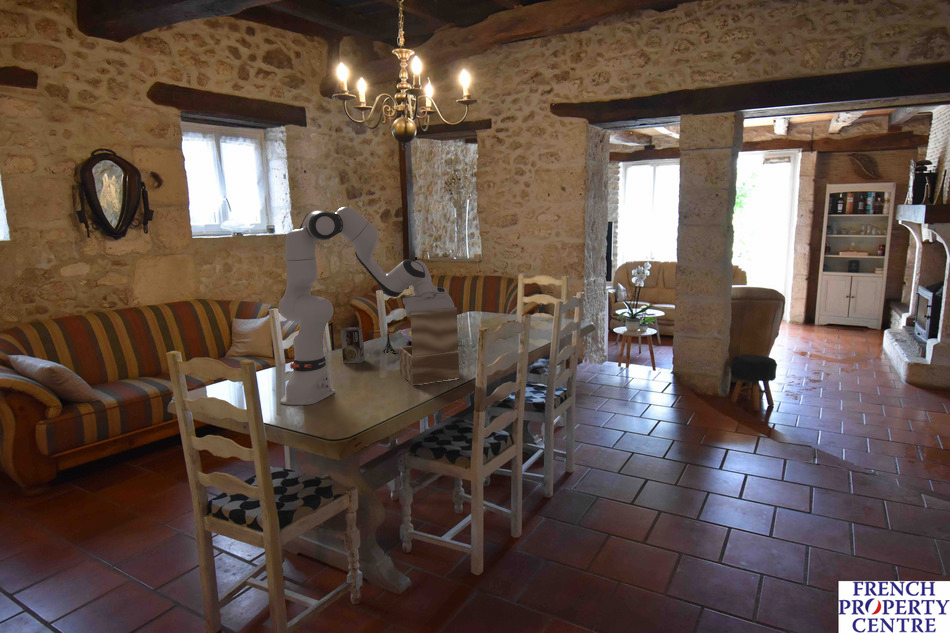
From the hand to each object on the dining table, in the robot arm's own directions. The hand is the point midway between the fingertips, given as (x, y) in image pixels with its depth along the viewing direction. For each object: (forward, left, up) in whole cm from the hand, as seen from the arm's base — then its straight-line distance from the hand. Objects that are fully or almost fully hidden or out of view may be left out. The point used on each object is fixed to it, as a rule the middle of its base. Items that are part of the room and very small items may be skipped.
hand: (434, 321), depth 232 cm
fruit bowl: (+76, +21, -26) cm, 83 cm away
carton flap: (-1, 0, -4) cm, 4 cm away
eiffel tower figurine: (+51, +36, -26) cm, 68 cm away
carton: (+8, +5, -25) cm, 27 cm away
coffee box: (+32, +47, -26) cm, 62 cm away
